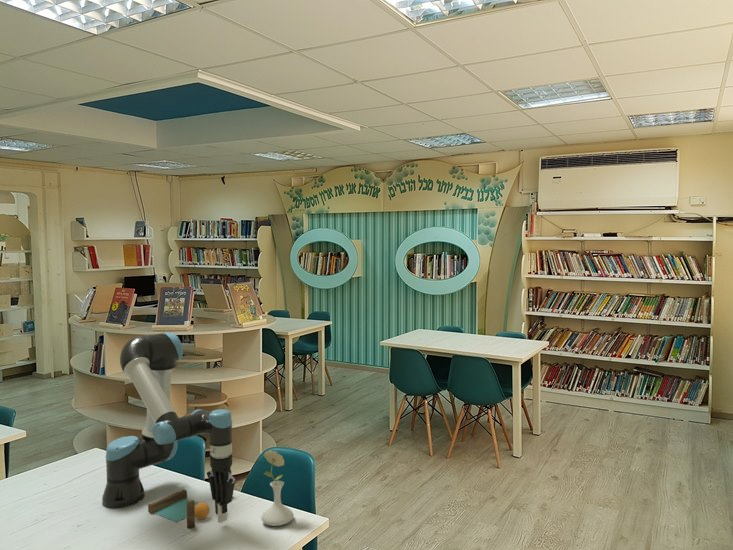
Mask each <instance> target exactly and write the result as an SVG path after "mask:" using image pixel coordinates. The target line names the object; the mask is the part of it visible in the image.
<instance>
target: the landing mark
mask: <svg viewBox="0 0 733 550" xmlns="http://www.w3.org/2000/svg"><path fill="white" fill-rule="evenodd" d="M189 500H190V499H188V498H185V499H182V500H180V501H178V502H176V503H174V504H171V505H169V506H167V507H165V508H162V509H160V510H158V511H156V512H154V513H153V514H155V513H156V514H155V515H158V514H159V515H158V516H160V515H161V516H160V517H162V516H164V517H163V518H165V517H166V518H165V519H167V518H168V519H167V520H170V521H172V520H173V522H174V523H178V522H180V520H181V521H183V520H184V518H185V519H187V501H189ZM199 503H200V502H199ZM199 503H198V502H197V501H194V504H195V506H196V505H197V504H199ZM182 519H183V520H182Z"/></svg>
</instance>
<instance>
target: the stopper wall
mask: <svg viewBox="0 0 733 550" xmlns="http://www.w3.org/2000/svg"><path fill="white" fill-rule="evenodd" d="M185 498H186V499H188V490H187V489H181V490H179V491H176V492H174V493H172V494H170V495H168V496H165V497H163V498H161V499H158V500H155V501H153V502H151V503H148V505H147V513H148V512H149V513H148V514H150V513H151V514H150V515H152V513H153V514H155V513H154V512H156V511H158V510H160V509H162V508H165V507H167V506H169V505H171V504H174V503H176V502H178V501H180V500H182V499H185Z"/></svg>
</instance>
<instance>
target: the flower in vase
mask: <svg viewBox="0 0 733 550" xmlns="http://www.w3.org/2000/svg"><path fill="white" fill-rule="evenodd" d="M263 457H264V458H265V460H266V461H267V462H268V463H269V464H271V467H270V472H269V471H265V472H264V473H263V475H264V476H267V477H269V478H272V480H273V481H271V482H270V483H269V486H270V487H271V488H272V491H273V498H274V499H273V503H272V505H270V506H269V507H268V508H267V509H265V511H264V512H263V513H262V515H261V521H262V522H263V523H264V524H265V525H268V526H273V527H274V526H275V527H277V526H279V527H280V526H283V525H287V524H289V523H290V522H292V520H293V519H294V512H293V511H292V510H291V509H290V507H288V506H285V505H284V504H283V503H282V499H281V494H282V493H281V492H282V488H283V486H285V482H284V481H282V480H280V479H282V478H283V475H284V474H279V475H277V477H276V478H275V477H274V475H273V466H274V467H282V466H285V459H284V458H283V457H284V456H283V455H281V454H280V453H278V452H277V451H273V450H270V449H269V450H268V451H265V452H264V456H263Z"/></svg>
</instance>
